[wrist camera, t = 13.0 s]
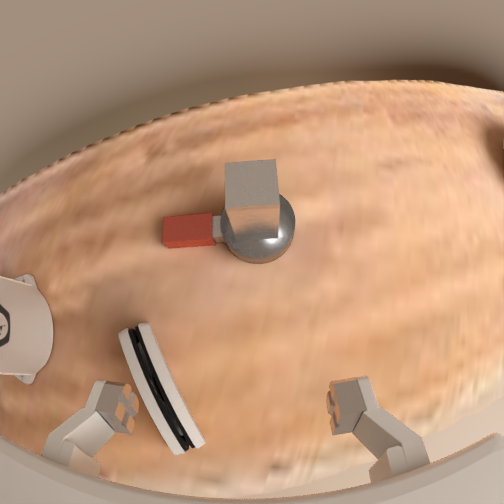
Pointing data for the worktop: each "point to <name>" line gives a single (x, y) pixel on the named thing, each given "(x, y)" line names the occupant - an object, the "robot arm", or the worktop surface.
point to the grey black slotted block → (174, 408)
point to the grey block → (252, 199)
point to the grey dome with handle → (229, 234)
